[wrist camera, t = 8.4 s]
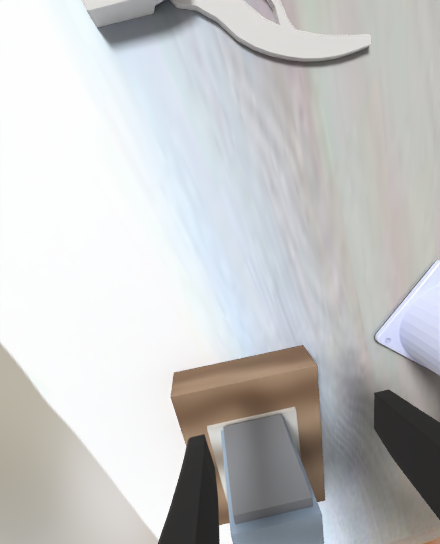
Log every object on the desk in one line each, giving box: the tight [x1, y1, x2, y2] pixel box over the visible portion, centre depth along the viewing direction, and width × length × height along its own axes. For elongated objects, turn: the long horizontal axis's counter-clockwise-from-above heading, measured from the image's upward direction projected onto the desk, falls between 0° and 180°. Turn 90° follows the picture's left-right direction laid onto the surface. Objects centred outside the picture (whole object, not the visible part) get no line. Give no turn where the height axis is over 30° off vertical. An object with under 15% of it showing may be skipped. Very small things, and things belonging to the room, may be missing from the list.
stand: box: [171, 345, 325, 525], centre depth 21 cm, size 16×11×3 cm
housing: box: [221, 414, 324, 544], centre depth 17 cm, size 8×5×6 cm, turn 10°
